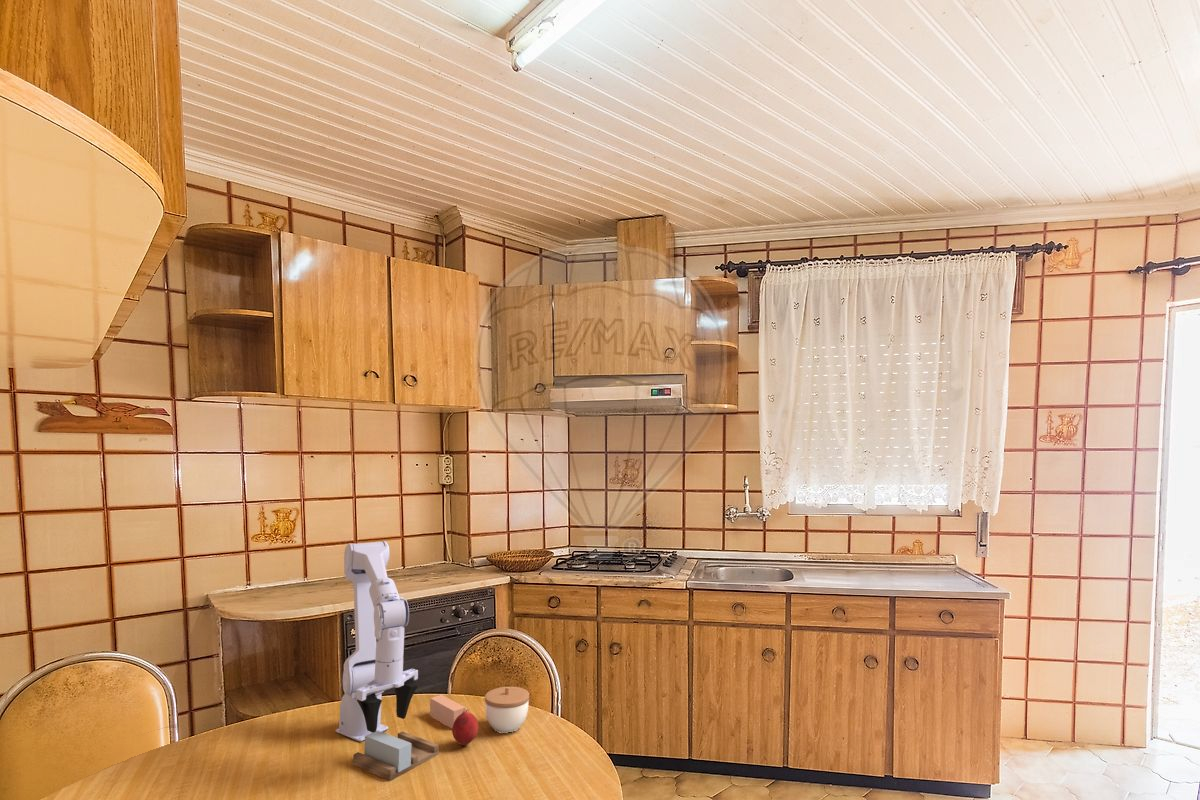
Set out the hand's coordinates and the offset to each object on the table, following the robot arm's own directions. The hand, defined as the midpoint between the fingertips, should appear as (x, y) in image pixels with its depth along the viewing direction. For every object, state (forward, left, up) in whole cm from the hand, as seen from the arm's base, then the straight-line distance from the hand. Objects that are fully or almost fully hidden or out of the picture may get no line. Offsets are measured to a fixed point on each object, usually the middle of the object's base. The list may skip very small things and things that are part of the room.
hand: (386, 724), depth 128 cm
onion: (+8, +15, -9) cm, 19 cm away
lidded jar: (+10, +27, -9) cm, 30 cm away
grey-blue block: (+1, 0, -8) cm, 8 cm away
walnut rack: (0, +3, -8) cm, 9 cm away
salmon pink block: (-5, +22, -9) cm, 24 cm away
